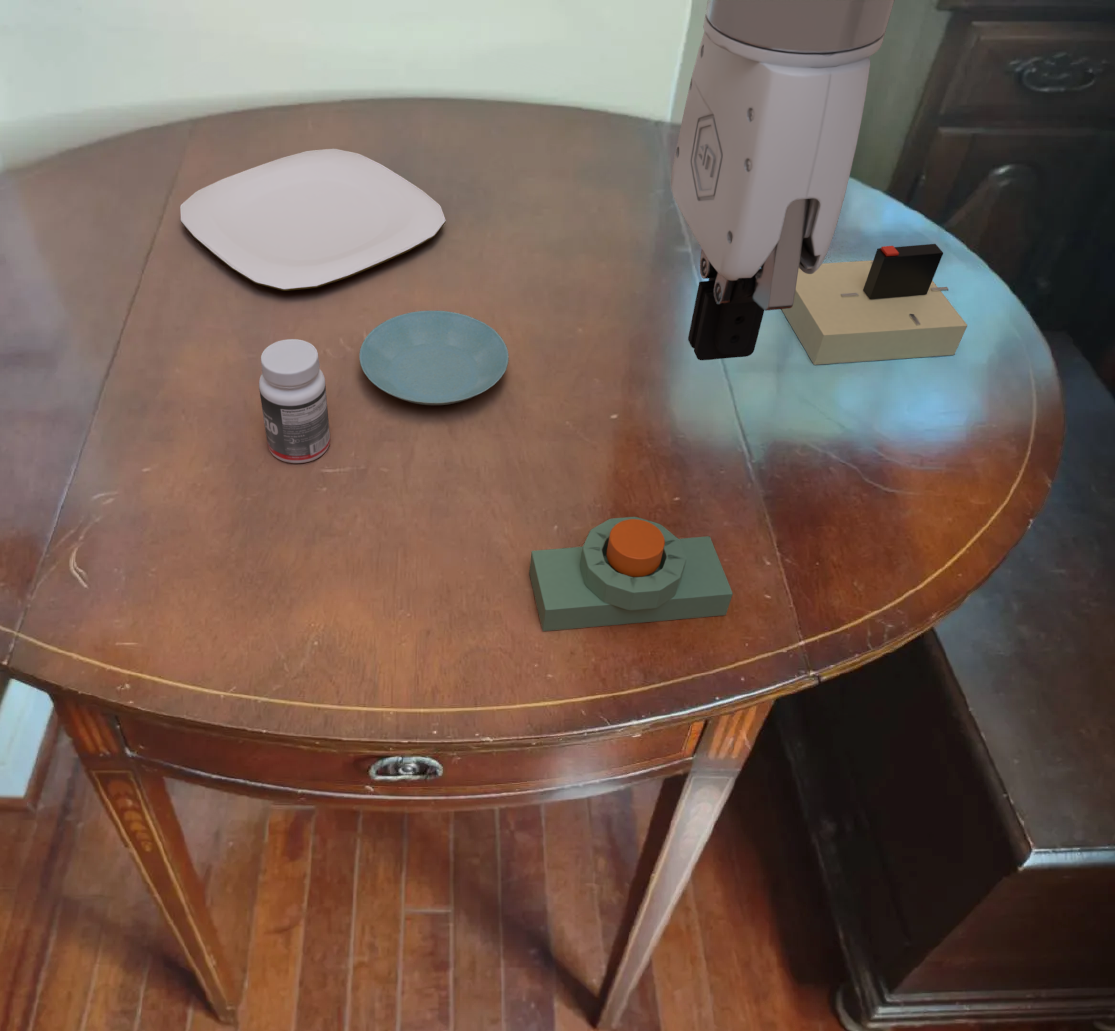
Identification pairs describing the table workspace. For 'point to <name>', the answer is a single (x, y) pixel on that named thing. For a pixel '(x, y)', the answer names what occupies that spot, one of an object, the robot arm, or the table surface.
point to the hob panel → (869, 318)
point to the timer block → (627, 583)
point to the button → (635, 547)
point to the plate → (311, 218)
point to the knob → (902, 271)
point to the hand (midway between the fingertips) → (719, 349)
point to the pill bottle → (294, 401)
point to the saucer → (433, 357)
